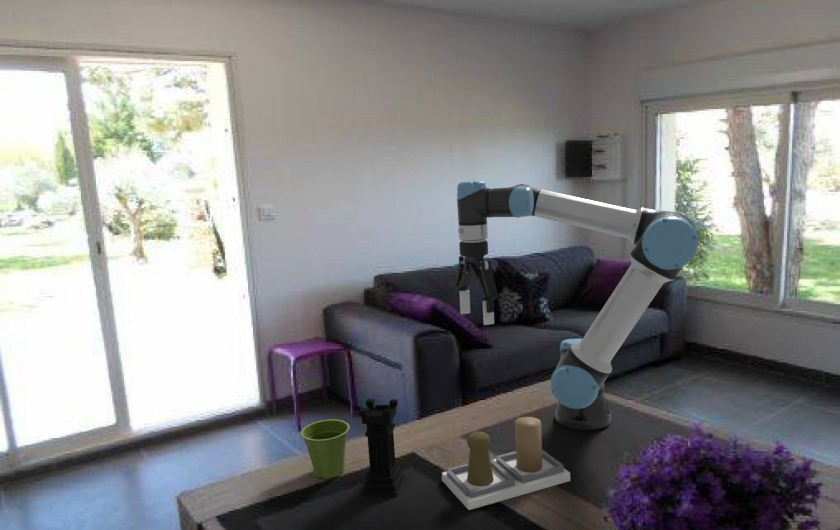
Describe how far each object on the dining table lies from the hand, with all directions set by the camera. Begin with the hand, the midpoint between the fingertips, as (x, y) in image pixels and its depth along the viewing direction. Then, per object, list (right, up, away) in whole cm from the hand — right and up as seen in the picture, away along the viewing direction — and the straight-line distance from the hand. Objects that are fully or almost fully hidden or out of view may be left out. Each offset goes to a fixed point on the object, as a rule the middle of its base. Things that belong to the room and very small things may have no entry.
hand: (476, 318), depth 165 cm
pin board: (+5, -36, -23) cm, 42 cm away
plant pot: (-38, -37, -14) cm, 54 cm away
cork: (-1, -35, -25) cm, 43 cm away
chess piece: (-24, -37, -22) cm, 49 cm away
